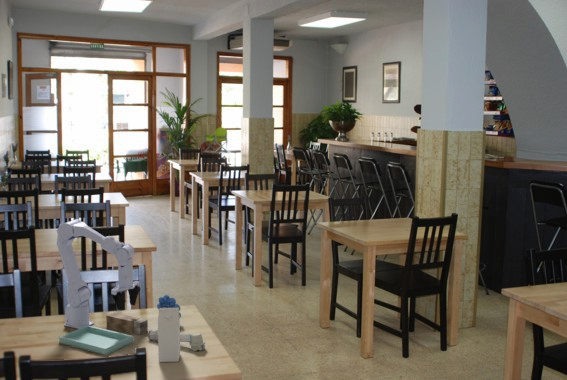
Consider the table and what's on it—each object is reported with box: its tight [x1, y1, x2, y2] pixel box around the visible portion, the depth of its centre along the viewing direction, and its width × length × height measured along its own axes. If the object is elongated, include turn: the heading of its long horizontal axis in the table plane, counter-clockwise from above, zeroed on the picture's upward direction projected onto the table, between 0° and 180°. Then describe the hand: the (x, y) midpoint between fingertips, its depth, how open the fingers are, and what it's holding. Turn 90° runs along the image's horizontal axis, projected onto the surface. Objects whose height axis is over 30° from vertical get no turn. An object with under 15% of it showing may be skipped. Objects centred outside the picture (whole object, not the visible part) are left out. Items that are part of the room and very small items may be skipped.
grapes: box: [156, 294, 182, 318], centre depth 267 cm, size 12×7×12 cm, turn 66°
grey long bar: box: [147, 329, 206, 352], centre depth 245 cm, size 5×7×25 cm
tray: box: [58, 325, 135, 356], centre depth 246 cm, size 24×15×2 cm, turn 62°
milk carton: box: [157, 308, 181, 363], centre depth 230 cm, size 7×7×19 cm
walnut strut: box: [105, 312, 149, 336], centre depth 260 cm, size 18×5×5 cm, turn 62°
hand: (126, 307), depth 259 cm, fingers open, 7 cm apart
